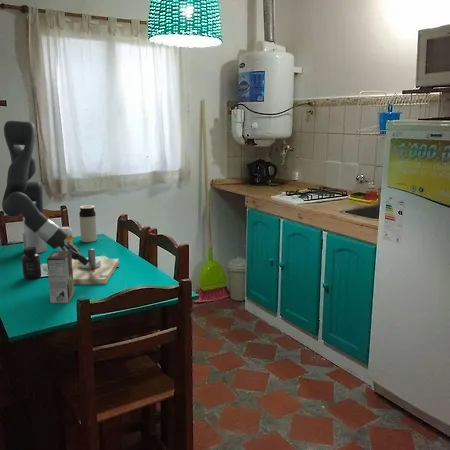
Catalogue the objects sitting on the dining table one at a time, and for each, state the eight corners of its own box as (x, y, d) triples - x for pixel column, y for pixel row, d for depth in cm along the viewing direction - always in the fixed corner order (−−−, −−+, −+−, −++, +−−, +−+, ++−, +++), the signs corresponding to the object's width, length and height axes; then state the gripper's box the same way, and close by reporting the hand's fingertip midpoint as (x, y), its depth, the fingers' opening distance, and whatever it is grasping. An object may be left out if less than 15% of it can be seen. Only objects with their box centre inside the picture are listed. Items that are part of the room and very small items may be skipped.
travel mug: (100, 239, 249) (98, 205, 245) (89, 243, 242) (87, 208, 238) (88, 238, 252) (86, 204, 248) (77, 241, 245) (75, 207, 241)
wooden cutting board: (52, 284, 181) (52, 278, 181) (72, 263, 208) (72, 258, 207) (106, 284, 182) (106, 278, 181) (119, 263, 208) (119, 258, 208)
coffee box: (56, 293, 172) (53, 250, 168) (74, 293, 172) (71, 250, 169) (49, 303, 163) (45, 258, 159) (68, 302, 163) (65, 257, 160)
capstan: (77, 263, 200) (76, 239, 197) (99, 261, 203) (98, 238, 201) (81, 278, 181) (79, 252, 179) (105, 276, 184) (104, 250, 182)
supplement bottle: (45, 275, 192) (42, 246, 189) (33, 280, 185) (30, 251, 183) (31, 273, 194) (28, 245, 191) (19, 278, 187) (16, 249, 185)
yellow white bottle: (76, 258, 215) (73, 226, 211) (70, 262, 209) (68, 229, 205) (63, 258, 215) (60, 226, 212) (57, 262, 209) (54, 229, 206)
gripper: (57, 230, 171) (94, 260, 177) (59, 223, 184) (93, 251, 190) (42, 245, 171) (79, 275, 177) (45, 237, 184) (80, 265, 189)
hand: (87, 263), depth 183 cm, fingers closed
